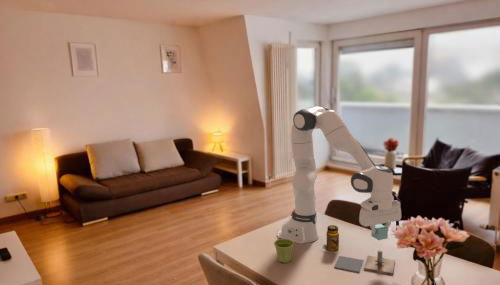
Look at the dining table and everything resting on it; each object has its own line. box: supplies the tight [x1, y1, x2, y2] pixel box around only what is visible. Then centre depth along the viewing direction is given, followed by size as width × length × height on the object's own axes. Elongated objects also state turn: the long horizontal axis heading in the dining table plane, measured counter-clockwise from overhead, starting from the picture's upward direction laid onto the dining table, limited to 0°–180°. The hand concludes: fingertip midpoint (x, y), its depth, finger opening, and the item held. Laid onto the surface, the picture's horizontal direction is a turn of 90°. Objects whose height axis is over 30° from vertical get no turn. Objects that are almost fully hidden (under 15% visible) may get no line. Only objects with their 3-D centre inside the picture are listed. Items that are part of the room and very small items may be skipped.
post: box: [363, 250, 396, 276], centre depth 159 cm, size 12×12×7 cm
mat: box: [333, 255, 364, 274], centre depth 161 cm, size 11×11×1 cm
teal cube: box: [371, 224, 389, 241], centre depth 157 cm, size 5×5×5 cm
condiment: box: [321, 224, 341, 254], centre depth 176 cm, size 7×8×12 cm
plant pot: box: [273, 238, 295, 264], centre depth 167 cm, size 9×9×9 cm
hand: (379, 232), depth 157 cm, fingers closed on teal cube, 5 cm apart
